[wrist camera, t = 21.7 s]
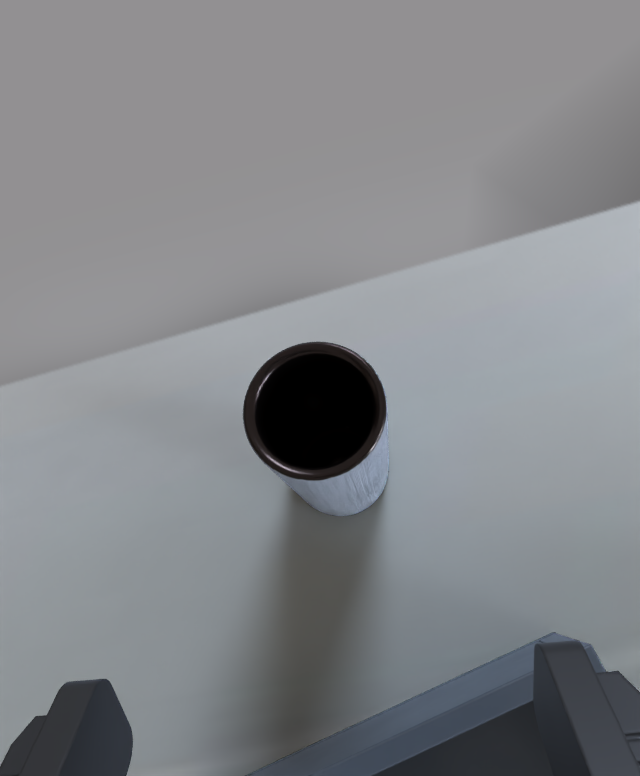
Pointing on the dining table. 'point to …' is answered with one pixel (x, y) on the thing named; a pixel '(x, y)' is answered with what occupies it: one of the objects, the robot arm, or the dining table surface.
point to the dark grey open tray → (444, 729)
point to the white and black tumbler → (321, 425)
